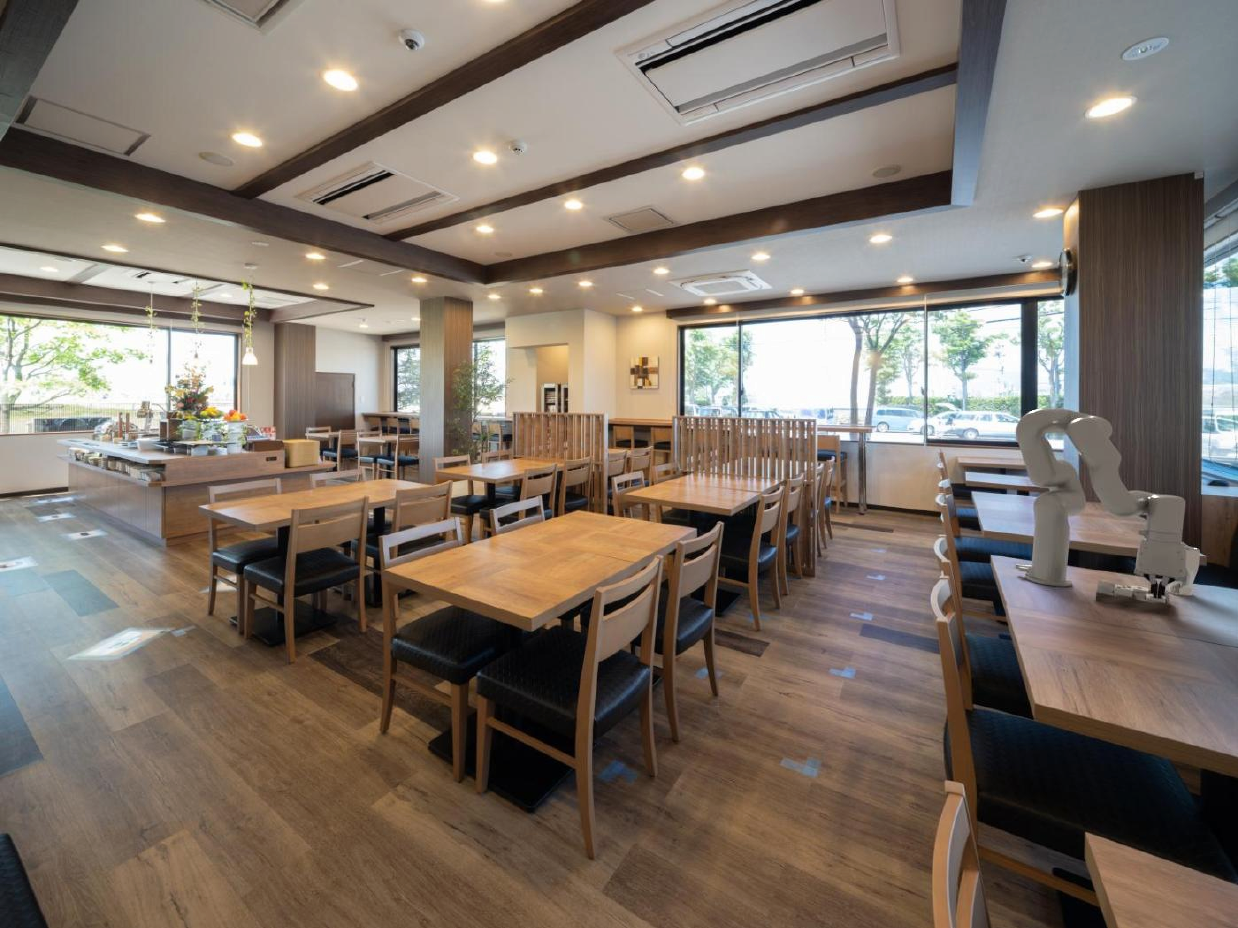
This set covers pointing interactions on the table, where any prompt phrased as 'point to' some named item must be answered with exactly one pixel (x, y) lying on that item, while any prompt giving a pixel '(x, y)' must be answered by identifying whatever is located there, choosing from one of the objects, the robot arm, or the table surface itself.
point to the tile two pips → (1151, 598)
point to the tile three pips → (1123, 590)
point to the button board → (1131, 599)
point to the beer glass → (1187, 574)
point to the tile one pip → (1140, 589)
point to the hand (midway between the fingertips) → (1157, 596)
